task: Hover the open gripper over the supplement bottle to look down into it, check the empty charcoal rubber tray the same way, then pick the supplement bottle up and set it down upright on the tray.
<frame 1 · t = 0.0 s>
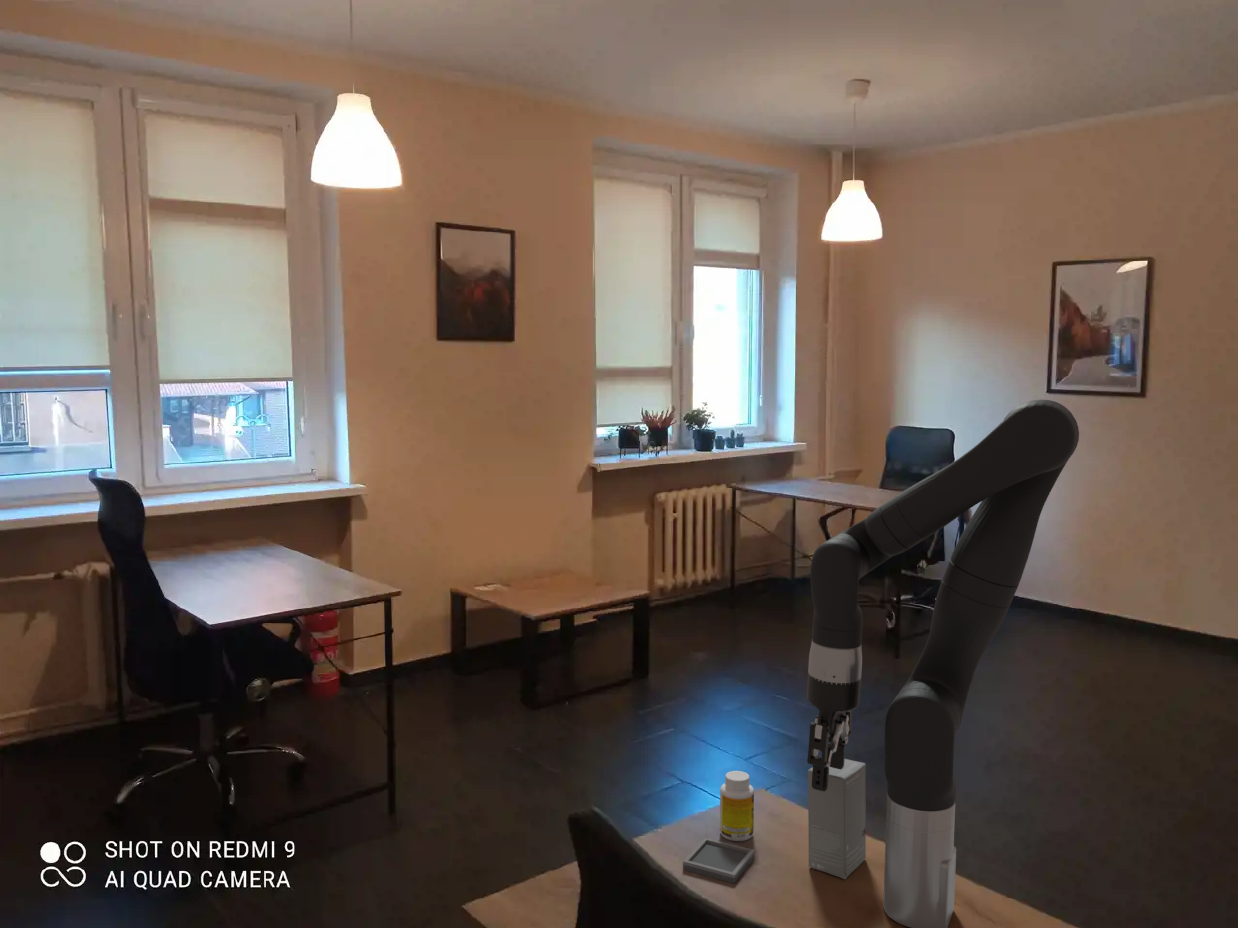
hand: (828, 777, 143), 17 cm above the table, tool pointing down, fingers open, 8 cm apart
supplement bottle: (736, 835, 161), on the table
charcoal tray: (719, 863, 152), on the table
skincare box: (835, 863, 152), on the table
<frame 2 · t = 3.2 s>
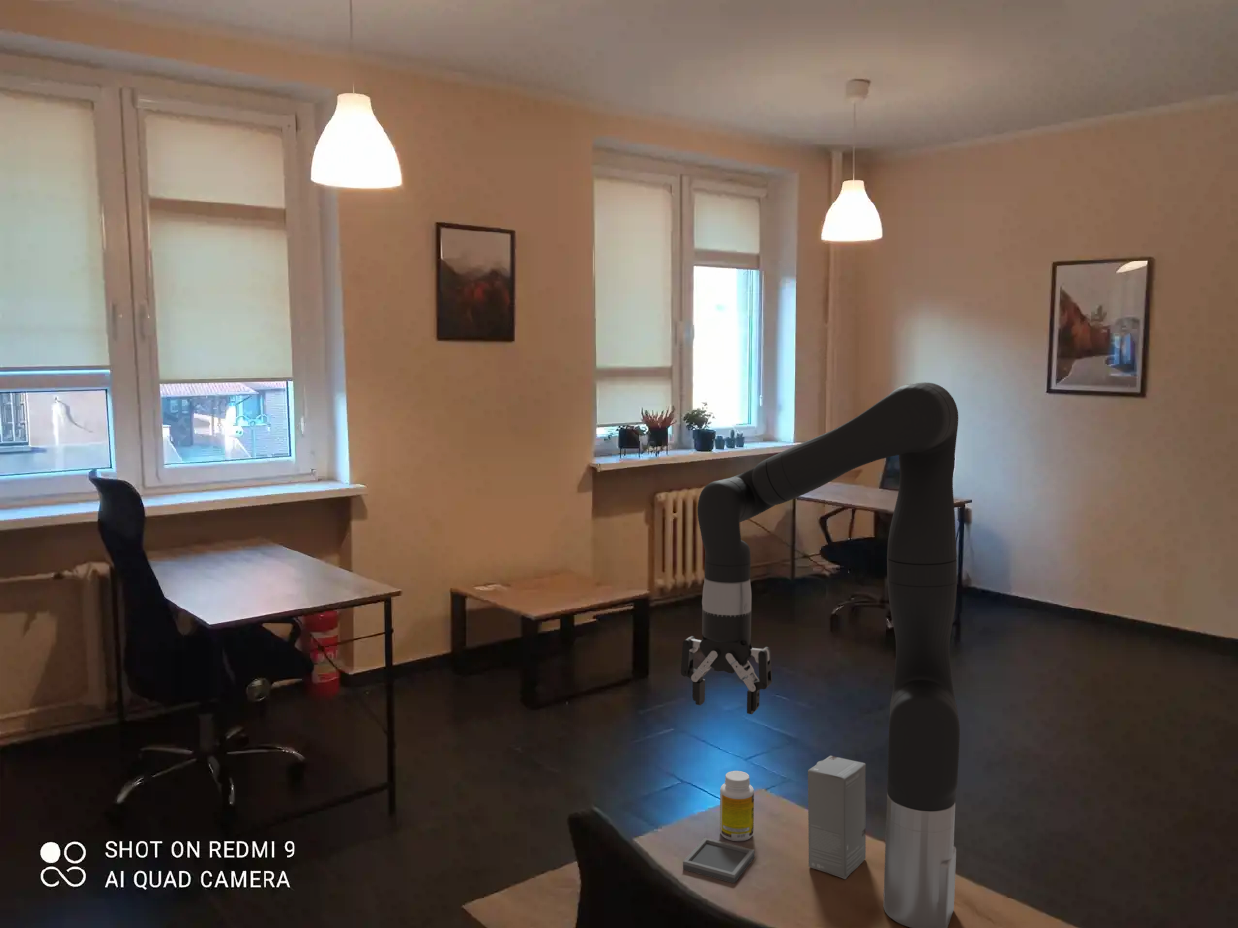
hand: (725, 707, 152), 24 cm above the table, tool pointing down, fingers open, 8 cm apart
nothing on the table moved.
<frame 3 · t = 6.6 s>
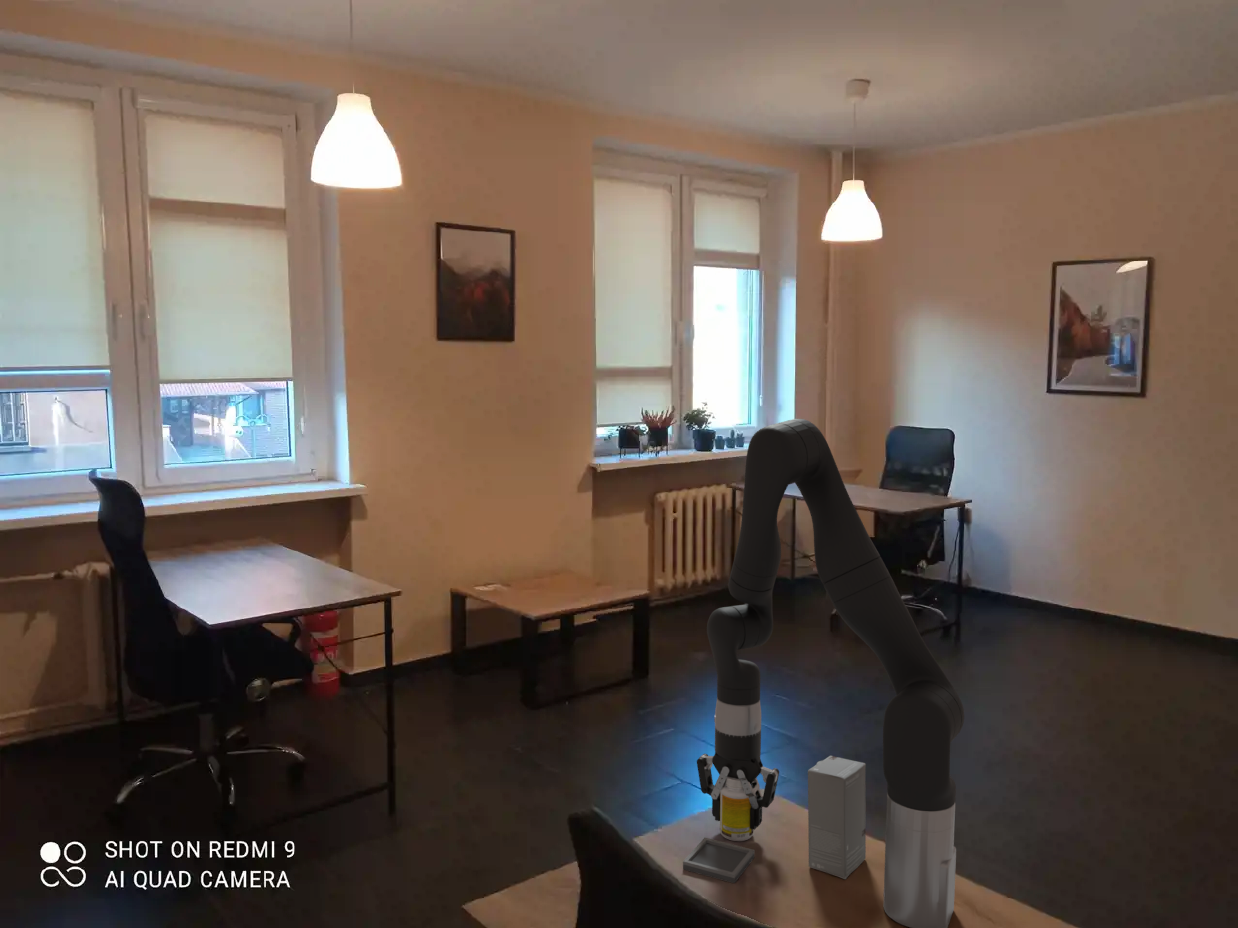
hand: (736, 822, 161), 2 cm above the table, tool pointing down, fingers closed on supplement bottle, 5 cm apart
supplement bottle: (736, 835, 161), on the table, touching gripper
everything else where it was.
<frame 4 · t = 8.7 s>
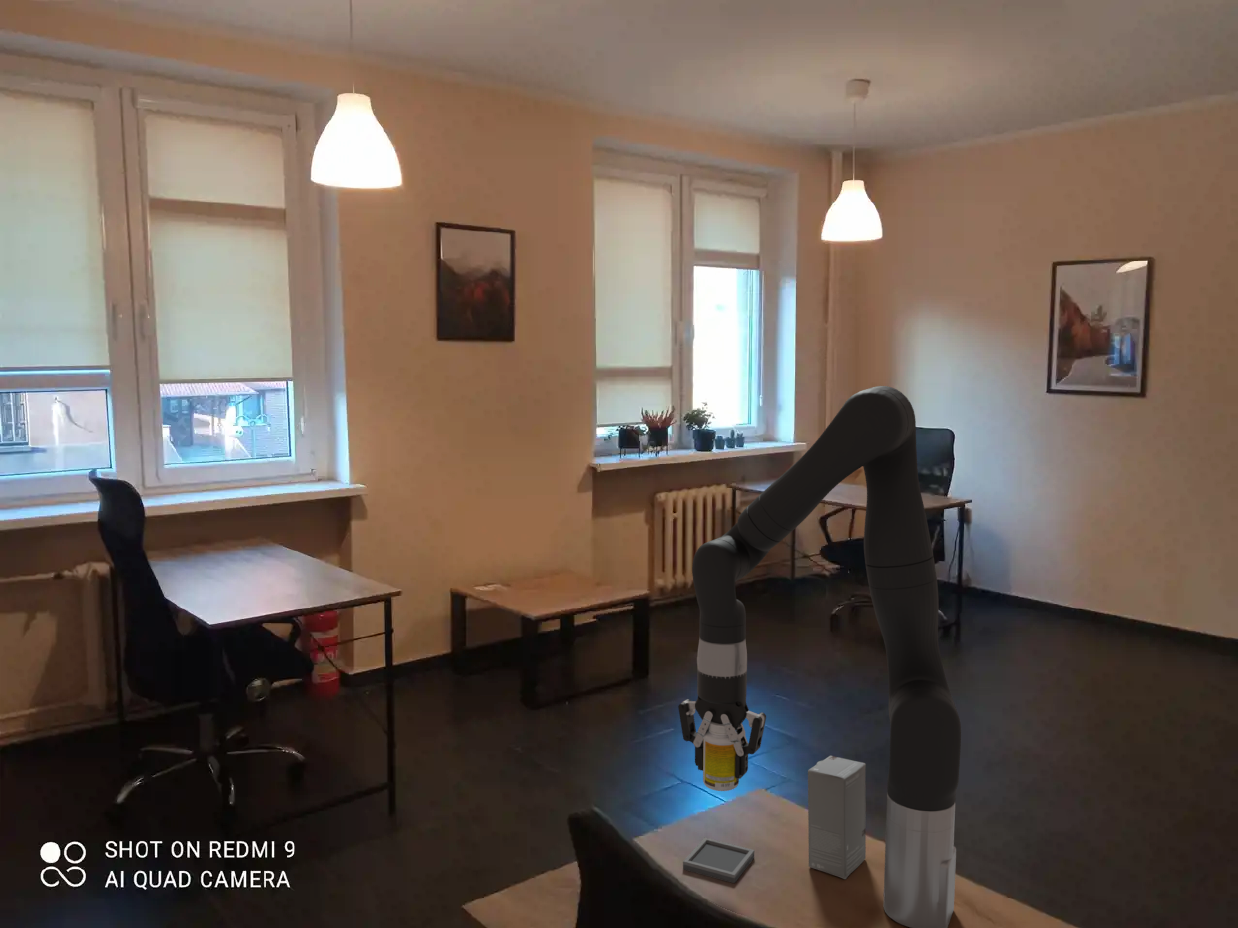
hand: (720, 771, 150), 15 cm above the table, tool pointing down, fingers closed on supplement bottle, 5 cm apart
supplement bottle: (720, 785, 151), point 13 cm above the table, touching gripper
everything else where it was.
when the fingers open (4 cm above the table, at t = 10.7 s): supplement bottle drops 2 cm, resting on charcoal tray.
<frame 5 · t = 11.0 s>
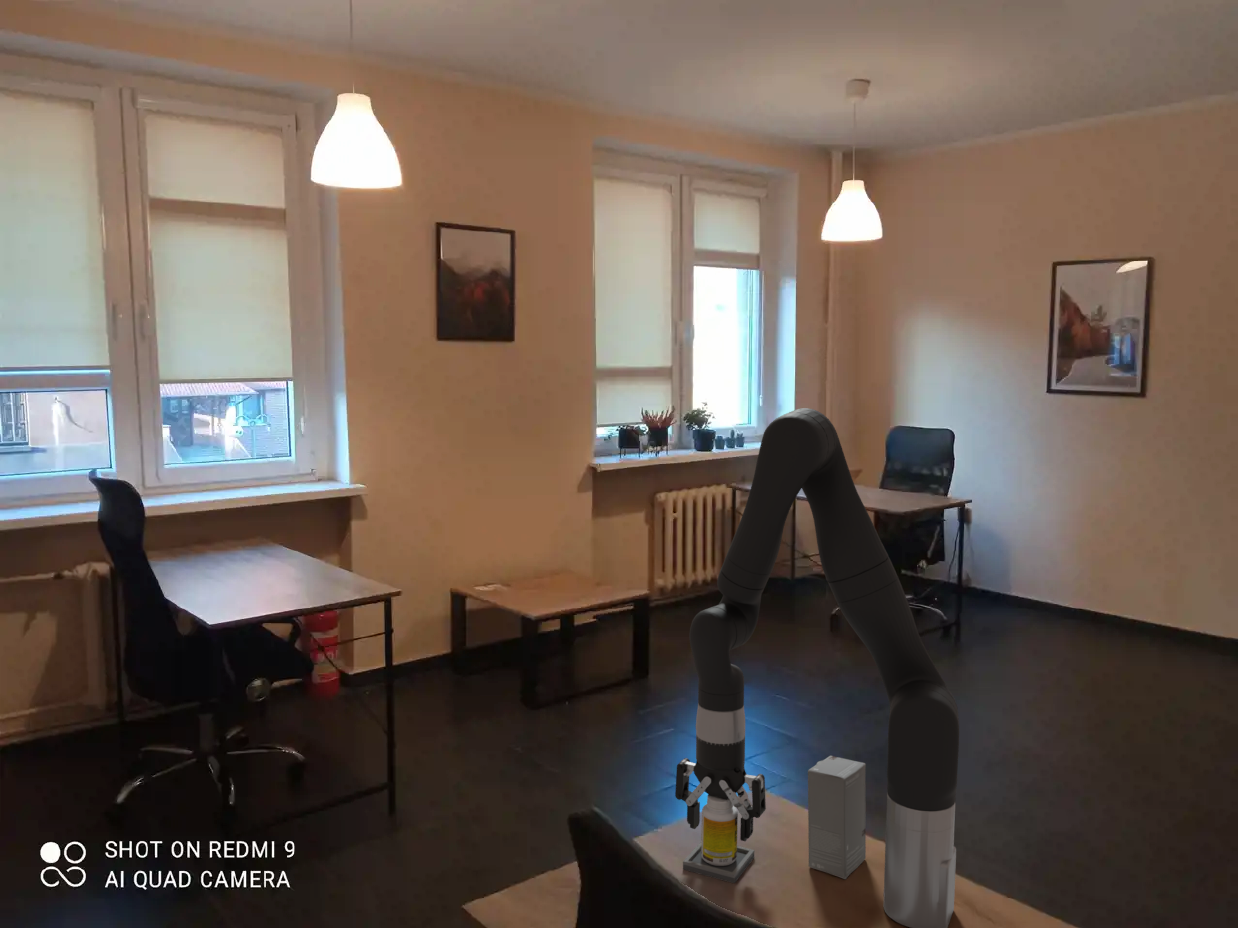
hand: (719, 832, 151), 5 cm above the table, tool pointing down, fingers open, 8 cm apart
supplement bottle: (718, 859, 152), point 1 cm above the table, touching charcoal tray
everything else where it was.
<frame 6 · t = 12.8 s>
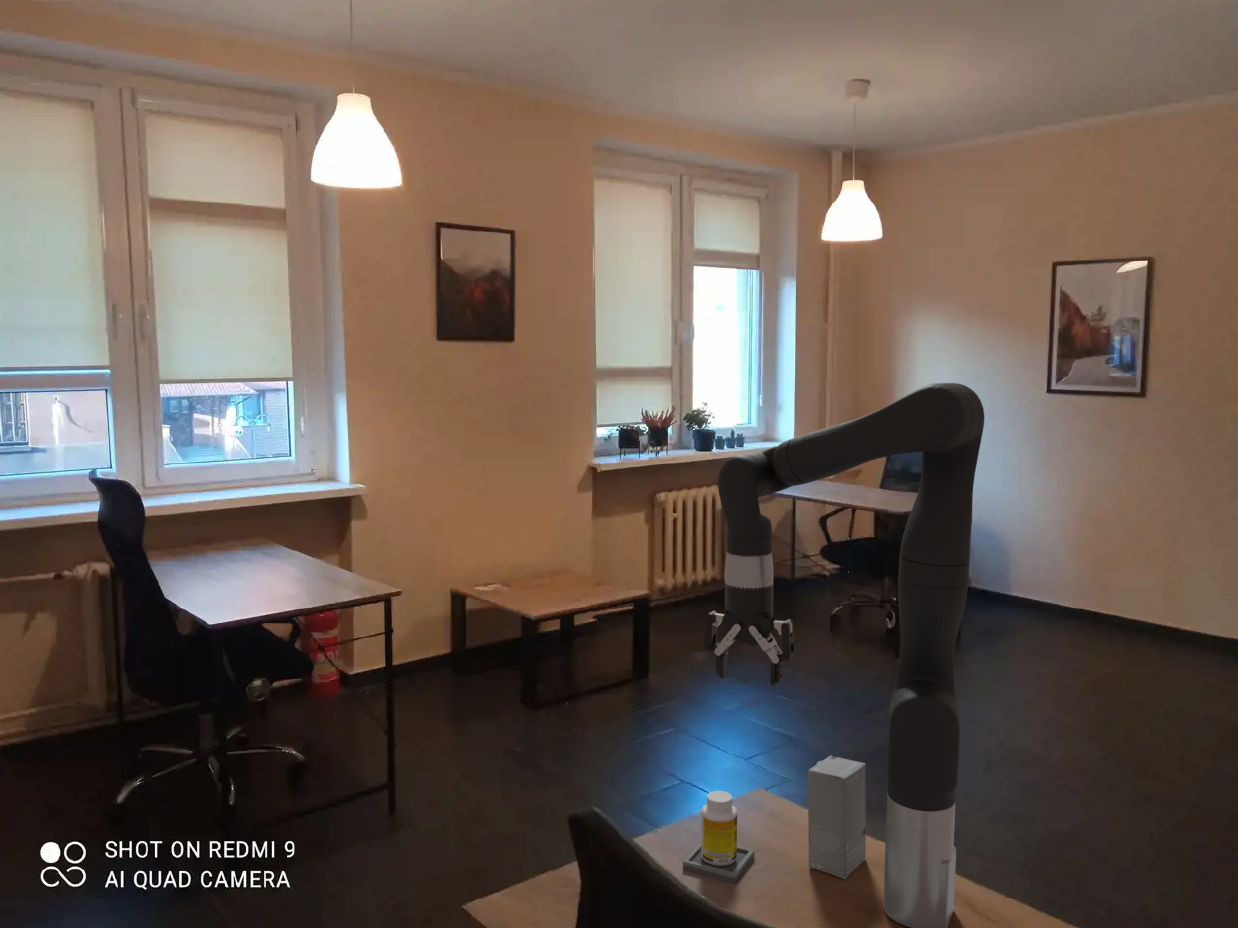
hand: (748, 680, 154), 28 cm above the table, tool pointing down, fingers open, 8 cm apart
nothing on the table moved.
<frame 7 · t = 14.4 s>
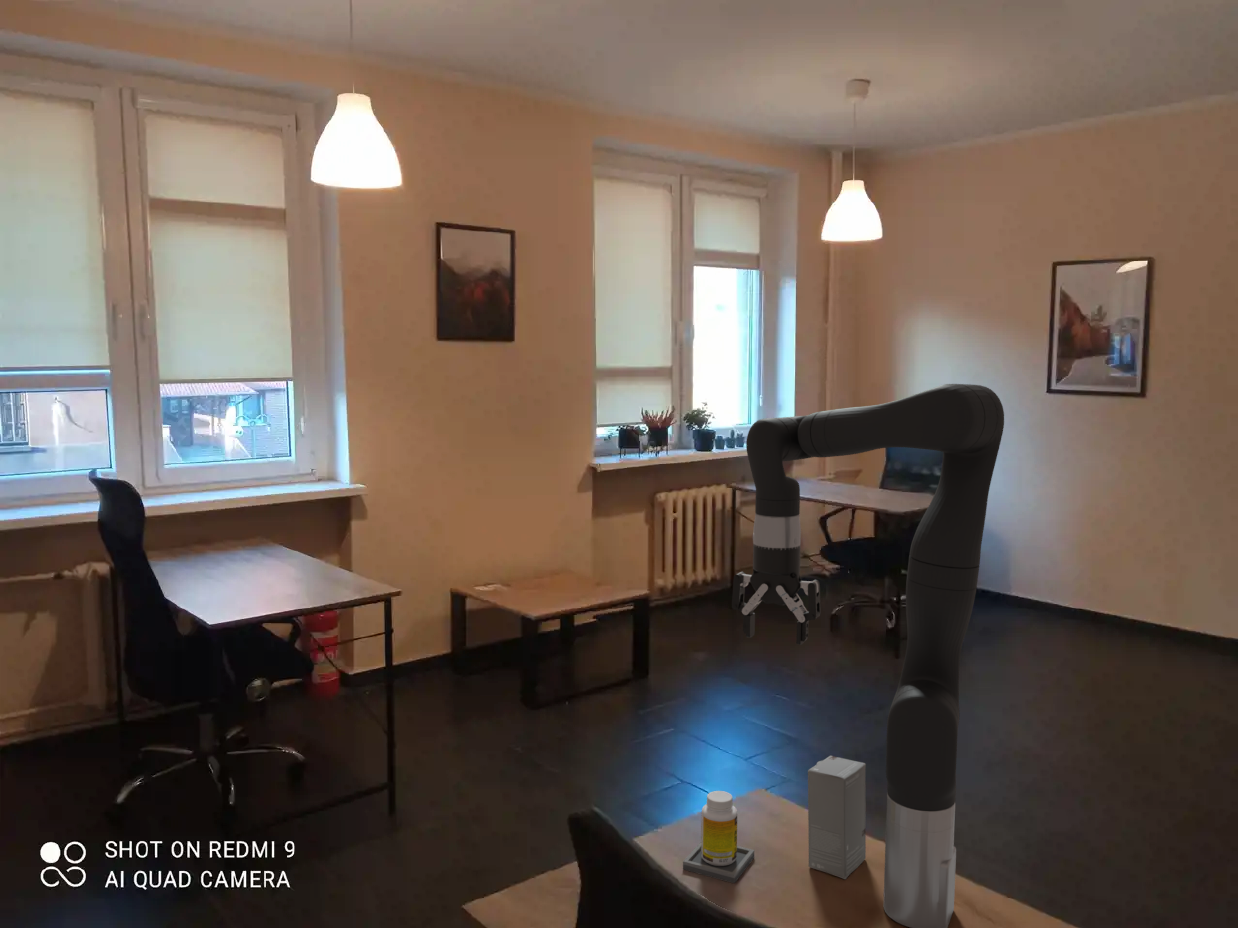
hand: (774, 639, 158), 33 cm above the table, tool pointing down, fingers open, 8 cm apart
nothing on the table moved.
at the end: supplement bottle inside the target area on the charcoal tray (0.1 cm from its centre), point 0.6 cm above the charcoal tray's base; supplement bottle tilted 0°; the gripper is holding nothing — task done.
